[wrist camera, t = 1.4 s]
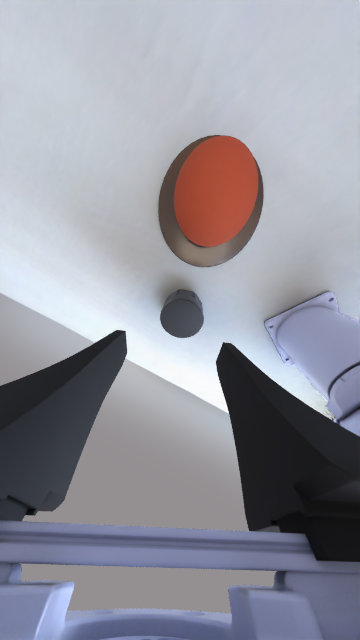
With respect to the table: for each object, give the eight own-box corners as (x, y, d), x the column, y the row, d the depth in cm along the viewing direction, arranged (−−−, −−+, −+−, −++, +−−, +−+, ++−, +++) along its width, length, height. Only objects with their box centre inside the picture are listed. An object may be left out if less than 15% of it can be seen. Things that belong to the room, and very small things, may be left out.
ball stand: (275, 226, 14) (287, 223, 12) (193, 282, 17) (193, 286, 15) (230, 102, 10) (238, 73, 9) (140, 202, 14) (132, 195, 12)
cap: (208, 311, 19) (212, 325, 15) (179, 328, 20) (177, 344, 17) (188, 281, 17) (187, 290, 14) (159, 302, 19) (151, 314, 15)
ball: (252, 219, 13) (293, 198, 8) (198, 259, 15) (202, 264, 10) (222, 147, 11) (250, 49, 6) (165, 204, 13) (146, 172, 8)
